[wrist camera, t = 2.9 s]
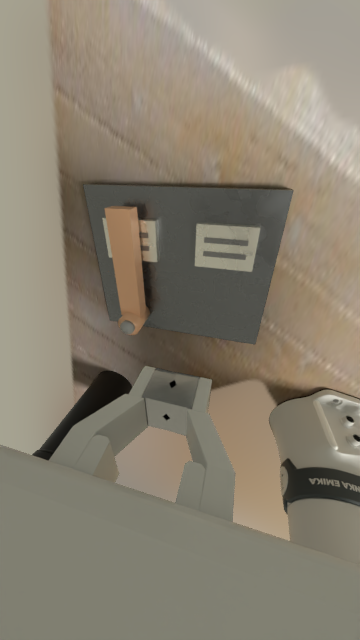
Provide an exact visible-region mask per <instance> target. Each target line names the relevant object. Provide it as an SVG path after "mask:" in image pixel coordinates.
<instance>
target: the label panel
mask: <svg viewBox="0 0 360 640" xmlns="http://www.w3.org/2000/svg"><path fill="white" fill-rule="evenodd" d="M83 186H84V191H85V197H86V202H87V207H88V212H89V217H90V222H91V227H92V232H93V237H94V242H95V247H96V252H97V257H98V262H99V268H100V273H101V278H102V283H103V288H104V293H105V298H106V303H107V308H108V313H109V318H110V320H111V321H117V322H118V321H119V319H120V318H121V317H122V316H123V315H121V308H120V302H119V296H118V290H117V284H116V277H115V271H114V265H113V259H112V252H111V246H110V240H109V234H108V227H107V221H106V215H105V209H104V208H107V207H111V206H127V207H137V214H138V225H139V237H140V248H141V259H142V271H143V282H144V293H145V305H146V306H147V307H148V309H149V311H150V315H149V317H148V319H147V320H146V322H145V323H144V324H143V326H147V327H153V328H159V329H165V330H171V331H177V332H183V333H189V334H195V335H201V336H207V337H213V338H219V339H225V340H231V341H237V342H243V343H249V344H255V343H256V339H257V335H258V331H259V327H260V323H261V319H262V315H263V311H264V307H265V303H266V299H267V295H268V291H269V287H270V283H271V279H272V275H273V271H274V267H275V263H276V259H277V255H278V251H279V247H280V243H281V239H282V235H283V231H284V226H285V222H286V218H287V214H288V210H289V206H290V202H291V198H292V194H293V190H292V189H262V188H226V187H189V186H152V185H116V184H83Z"/></svg>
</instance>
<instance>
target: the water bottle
mask: <svg viewBox="0 0 360 640" xmlns="http://www.w3.org/2000/svg"><path fill="white" fill-rule="evenodd" d="M131 389H132V386H131V384H130V383H129V381H128V380H127V379H126V378H125V377H123V376H122V375H120V374H118V373H116V372H112V371H104V372H101V373H100V374H99V375H98V376H97V378H96V379H95V380H94V381H93V383H92V384H91V385H90V386H89V388H88V389H87V390H86V391H85V393H84V394H83V395H82V397H81V398H80V399H79V400H78V402H77V403H76V404H75V405H74V407H73V408H72V409H71V411H70V412H69V413H68V414H67V415H66V417H65V418H64V419H63V420H62V422H61V423H60V424H59V426H58V427H57V428H56V429H55V430H54V432H53V433H52V434H51V436H50V437H49V438H48V439H47V440H46V442H45V443H44V444H43V445H42V447H41V448H40V449H39V450H37V451H36V452H35V453H33V456H36V457H39V458H42V459H45V460H48V461H49V459H50V458H51V456H52V455H53V454H54V452H55V451H56V449H57V448H58V447H59V445H60V444H61V442H62V441H63V439H64V438H65V437H66V435H67V434H68V432H69V431H70V430H71V428H72V427H73V426H74V425H75V424H77V423H79V422H80V421H82V420H83V419H85V418H87V417H88V416H90V415H92V414H93V413H95V412H96V411H98V410H100V409H101V408H103V407H105V406H106V405H108V404H109V403H111V402H113V401H114V400H116V399H118V398H119V397H121V396H122V395H124V394H129V393H130V391H131Z"/></svg>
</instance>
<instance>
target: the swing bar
mask: <svg viewBox="0 0 360 640" xmlns="http://www.w3.org/2000/svg"><path fill="white" fill-rule="evenodd" d="M104 209H105V215H106V221H107V227H108V234H109V240H110V246H111V252H112V259H113V265H114V271H115V277H116V284H117V290H118V296H119V302H120V308H121V315H123V316H122V317H121V318H120V319H119V321H118V325H119V328H120V329H121V330H122V332H124V333H125V334H128V335H135V334H137V333H138V332H139V330H140V329H141V327H142V326H143V324H144V323H145V322H146V320H147V319H148V317H149V315H150V311H149V309H148V307H147V306H146V305H145V293H144V282H143V271H142V259H141V248H140V237H139V225H138V214H137V207H127V206H111V207H107V208H104Z"/></svg>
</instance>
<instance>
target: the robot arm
mask: <svg viewBox="0 0 360 640" xmlns="http://www.w3.org/2000/svg"><path fill="white" fill-rule="evenodd" d="M211 385H212V379H207V378H202V377H198V376H193V375H188V374H183V373H176V372H172V371H168V370H163V369H159V368H154V367H150V366H145V367H144V368H143V369H142V371H141V373H140V375H139V376H138V378H137V380H136V382H135V384H134V385H133V387H132V389H131V391H130V393H129V394H124V395H122V396H121V397H119V398H118V399H116V400H114V401H113V402H111V403H109V404H108V405H106V406H105V407H103V408H101V409H100V410H98V411H96V412H95V413H93V414H92V415H90V416H88V417H87V418H85V419H83V420H82V421H80V422H79V423H77V424H75V425H74V426H73V427H72V428H71V430H70V431H69V432H68V434H67V435H66V437H65V438H64V439H63V441H62V442H61V444H60V445H59V447H58V448H57V449H56V451H55V452H54V454H53V455H52V456H51V458H50V459H49V461H48V460H45V459H42V458H39V457H36V456H33V455H30V454H27V453H24V452H21V451H18V450H15V449H12V448H9V447H6V446H3V445H0V640H360V399H357V398H354V397H351V396H348V395H345V394H342V393H339V392H336V391H333V390H322V391H319V392H317V393H315V394H313V395H311V396H308V397H304V398H298V399H293V400H289V401H286V402H284V403H282V404H280V405H279V406H277V407H276V408H275V409H274V410H273V411H272V412H271V414H270V417H269V423H270V426H271V429H272V431H273V434H274V437H275V440H276V444H277V447H278V451H279V456H280V461H281V467H280V483H281V494H282V496H283V504H284V510H285V512H286V513H287V515H288V524H289V534H290V541H288V540H285V539H282V538H279V537H276V536H273V535H270V534H267V533H264V532H261V531H258V530H255V529H252V528H249V527H246V526H243V525H240V524H237V523H234V522H233V505H234V486H235V471H234V469H233V467H232V464H231V462H230V460H229V457H228V455H227V453H226V451H225V448H224V446H223V444H222V442H221V440H220V437H219V435H218V433H217V430H216V428H215V426H214V423H213V421H212V419H211V417H210V414H208V407H209V400H210V393H211ZM148 426H151V427H155V428H160V429H164V430H168V431H172V432H175V433H178V434H181V435H185V436H186V438H187V441H188V445H189V449H190V453H191V456H192V460H193V462H192V461H188V462H187V463H185V466H184V470H183V474H182V478H181V482H180V486H179V490H178V494H177V498H176V502H175V503H173V502H171V501H168V500H165V499H162V498H159V497H156V496H153V495H150V494H147V493H144V492H141V491H138V490H135V489H132V488H129V487H126V486H123V485H120V484H117V483H115V482H116V480H117V477H118V475H119V471H118V468H117V464H116V461H115V458H114V457H115V456H116V455H117V454H118V453H119V452H120V451H121V450H123V449H124V448H125V447H126V446H127V445H128V444H129V443H130V442H131V441H132V440H134V439H135V438H136V437H137V436H138V435H139V434H140V433H141V432H143V431H144V430H145V429H146V428H147V427H148Z"/></svg>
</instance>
